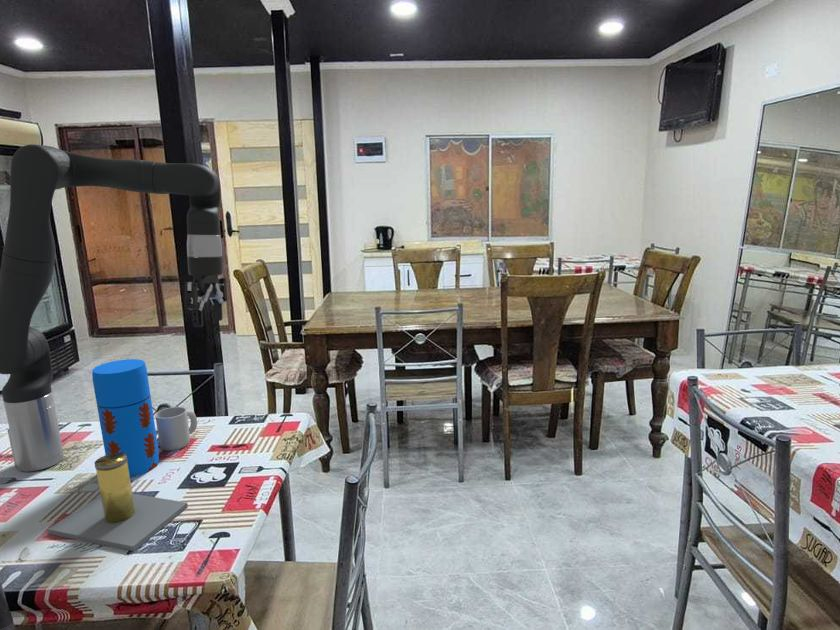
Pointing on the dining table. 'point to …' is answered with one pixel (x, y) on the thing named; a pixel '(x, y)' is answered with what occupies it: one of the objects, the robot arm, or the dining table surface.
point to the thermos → (126, 413)
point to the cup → (175, 427)
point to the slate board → (122, 534)
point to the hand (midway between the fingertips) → (208, 323)
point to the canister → (115, 487)
